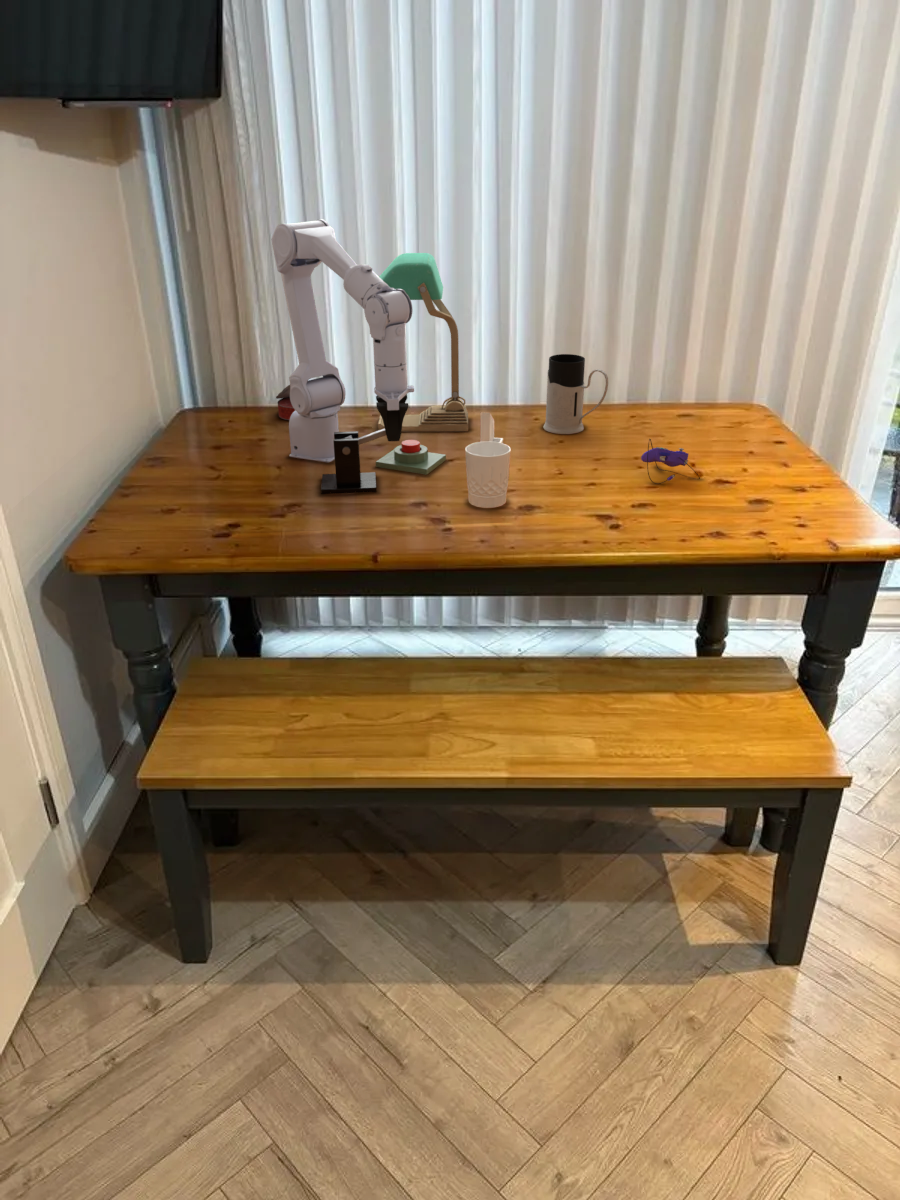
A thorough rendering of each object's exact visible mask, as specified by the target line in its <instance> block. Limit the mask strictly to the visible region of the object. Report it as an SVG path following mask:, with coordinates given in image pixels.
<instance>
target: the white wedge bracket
mask: <svg viewBox="0 0 900 1200" xmlns="http://www.w3.org/2000/svg"><path fill="white" fill-rule="evenodd" d="M479 417H480V421H479V422H480V427H479V428H480V429H479V430H480V431H479V433H480V437H479V440H480V441H479V442H484V441H491V442H499V443H503V444H504V438H503V437H495V419H494V417H493V415H492V414H491V412H488V411H487V412H486V411H481V412H480V416H479Z"/></svg>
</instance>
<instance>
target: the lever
mask: <svg viewBox="0 0 900 1200" xmlns="http://www.w3.org/2000/svg"><path fill="white" fill-rule="evenodd" d="M385 436H386V432H385V429H382V430H379V431H378V430H376V431H374V432H371V433H368V434H365V435H362V436H360V437H359V436H358V444H359V446H360V445H362V444H365V443H367V442H368V443H369V442H371V441H374V440H377V439H380V438H383V437H385ZM386 437H387V436H386ZM342 439H353V438H352V436H348V437H345V438H342ZM356 439H357V438H356Z"/></svg>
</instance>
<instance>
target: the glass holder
mask: <svg viewBox="0 0 900 1200" xmlns="http://www.w3.org/2000/svg"><path fill="white" fill-rule="evenodd" d="M585 364H586V358H585V356H582V355H578V354H574V353H573V354H571V353H561V354H554V355H551V356H549V357H548V369H547V379H546V380H547V381H546V403H545V421H544V424H543V425H542V426H543V427H542V428H543V429H544V431H546V432H549V433H552V434H557V435H572V434H578V433H581V432H583V431H584V429H585V427H584V423H583V419H584V418H585V417H586V416H588V415H589V414H591V413H592V412H594V411H595V410H596V409H597V408H599V407H600V406H601V405H602V403H603V402H604V400H605V398H606V396H607V393H608V390H609V389H608V388H609V376H608V375H607V373H606V371H604V370H602V369H600V368H599V369H598V368H597V369H594V370H592V371H591V372H590V373H589V375H588V378H587V385H586V386H585V367H586V366H585ZM595 372H599V373H601V374H602V375H603V376H604V379H605V387H604V392H603V395H602V396H601V399H600V400H599V401H598V403H597V404H596V405H595V406H594V407H593V408H592V409H590V410H588V411H587V412H585V413H584V398H585V397H584V395H585V389H588V388H590V386H591V383H592V382H591V381H592V376H593V374H594V373H595ZM583 413H584V414H583Z"/></svg>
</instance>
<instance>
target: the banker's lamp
mask: <svg viewBox="0 0 900 1200" xmlns="http://www.w3.org/2000/svg"><path fill="white" fill-rule="evenodd" d="M437 265H438V264H437V261H436V259H435V257H434V256H433V255H432V254H431V253H427V252H407V253H401V254H399V255H398V256H396V257H395V258H394V259H393V260H392V261H391V263H390V264H389V265H388V266H387V267H386V268H385V269H384V270H383V272H381V273H380V275H378V276H379V277H380V278H381V279H382V280H383V281H384V282H385V283H386V284H387V285H388V286H389V287H390V288H394V289H403V290H404V291H405V292H406V294H407V295H408V296H409V298H410V300H411V301H423V303H424V306H425V308H426V310H427V312H428V314H429V315H430V316H432V317H434V318H439V319H442V320H443V321H445V322H446V325H447V326H448V328H449V333H450V369H451V370H450V374H451V375H450V376H451V377H450V379H451V381H450V382H451V385H450V387H451V392H450V393H451V397H448V398H446V399H445V400H444V401H443V403H442V404H440V405H437V404H436V405H433V404H432V406H428V408H426V409H425V410H423V411H422V412H420V414H405V416H404V419H403V423H402V430H401V433H402V432H403V433H404V432H407V433H409V432H410V433H411V432H469V412H468V410H467V406H466V399H465V398H464V397H462V396H460V379H459V378H460V376H459V375H460V374H459V373H460V371H459V370H460V369H459V367H460V365H459V364H460V362H459V359H460V358H459V357H460V356H459V355H460V354H459V329H458V326H457V323H456V320H455V318H454V317H453V316H452V315H453V314H452V313H451V312H450V311H449V309H448V308H447V306H446V305H445V303H444V302H443V300H442V299H443V293H444V285H443V281H442V278H441V275H440V272H439V268H438V266H437ZM436 308H437V309H436ZM382 429H385V427H384V422H383V419H382V417H381V415H379V419H378V422H377V431H379V430H382Z"/></svg>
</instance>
